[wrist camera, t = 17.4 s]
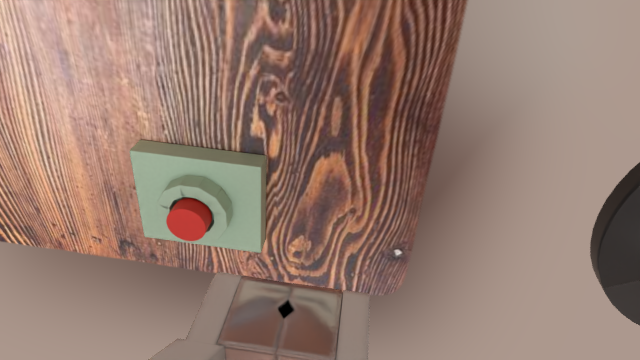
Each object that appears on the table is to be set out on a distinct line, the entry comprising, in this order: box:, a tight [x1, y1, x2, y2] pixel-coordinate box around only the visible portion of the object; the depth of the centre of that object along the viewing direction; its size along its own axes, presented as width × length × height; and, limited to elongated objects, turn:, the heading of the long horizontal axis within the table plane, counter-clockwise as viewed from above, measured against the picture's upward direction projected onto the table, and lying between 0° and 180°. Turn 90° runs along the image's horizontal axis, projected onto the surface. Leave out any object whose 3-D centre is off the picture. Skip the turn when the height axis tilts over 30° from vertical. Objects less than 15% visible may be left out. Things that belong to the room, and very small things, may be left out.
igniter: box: [130, 140, 267, 253], centre depth 43 cm, size 12×10×4 cm
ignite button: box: [166, 198, 212, 241], centre depth 41 cm, size 4×4×2 cm
